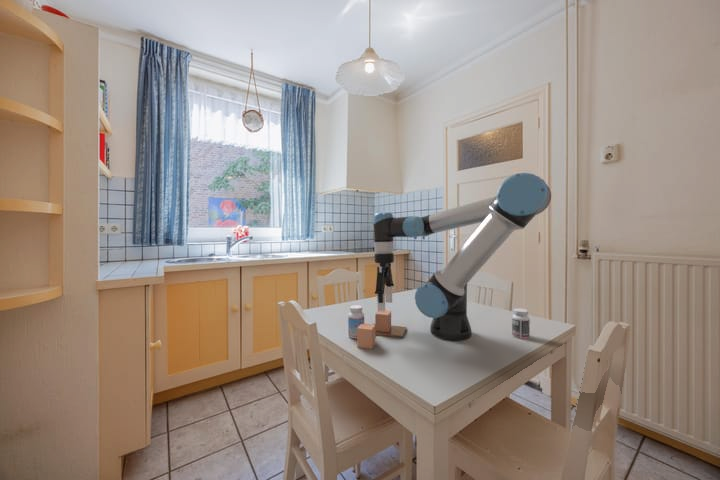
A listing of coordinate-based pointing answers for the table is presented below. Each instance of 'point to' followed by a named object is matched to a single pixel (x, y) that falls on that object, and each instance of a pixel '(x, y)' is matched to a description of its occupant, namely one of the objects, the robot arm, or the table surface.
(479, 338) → the table surface
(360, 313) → the pill bottle
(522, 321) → the pill bottle
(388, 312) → the salmon pink cube
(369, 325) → the peach cardboard cube
